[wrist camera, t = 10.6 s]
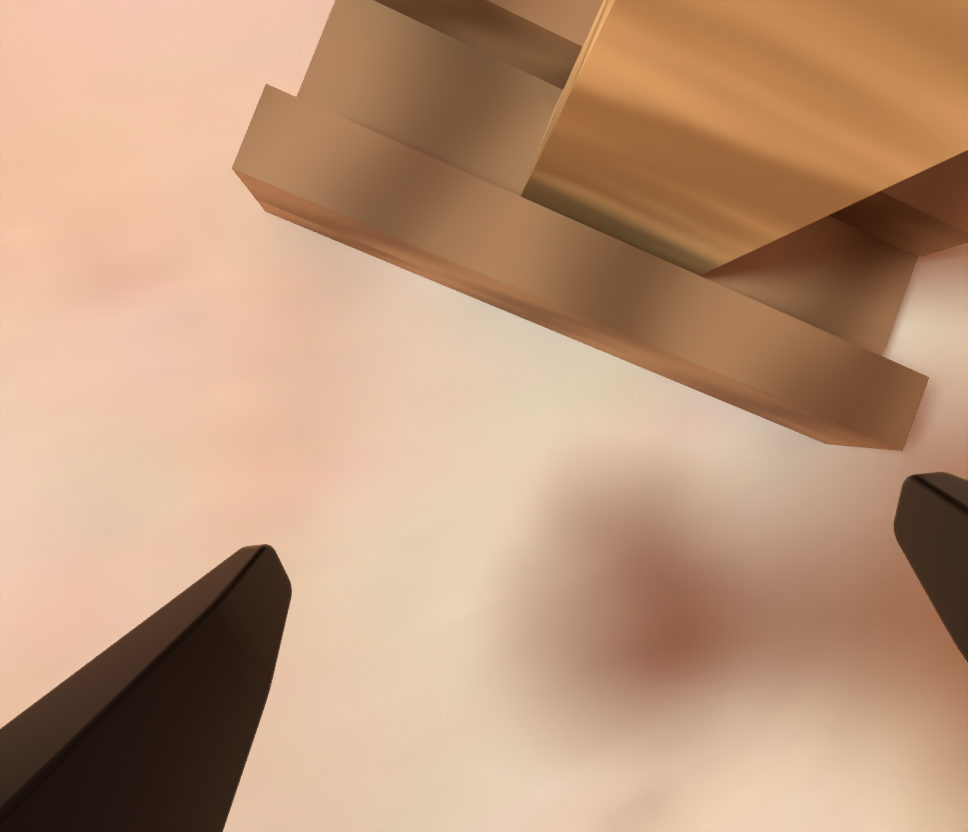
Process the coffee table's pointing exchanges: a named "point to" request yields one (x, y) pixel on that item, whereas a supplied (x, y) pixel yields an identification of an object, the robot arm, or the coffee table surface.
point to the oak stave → (749, 117)
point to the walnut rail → (572, 245)
